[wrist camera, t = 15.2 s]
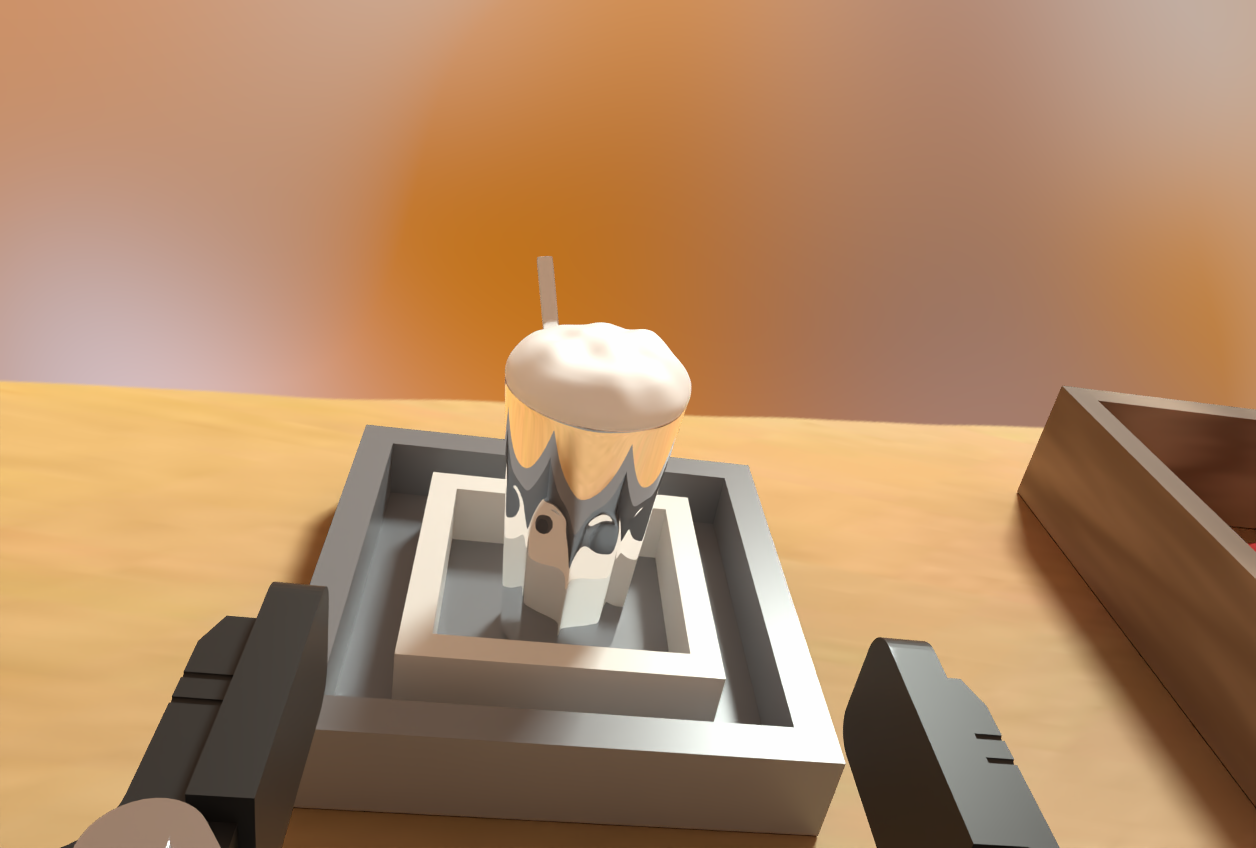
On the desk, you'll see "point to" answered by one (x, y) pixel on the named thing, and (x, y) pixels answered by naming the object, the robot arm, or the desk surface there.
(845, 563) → the desk surface
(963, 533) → the desk surface
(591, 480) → the milkshake
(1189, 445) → the tray
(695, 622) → the dock box
